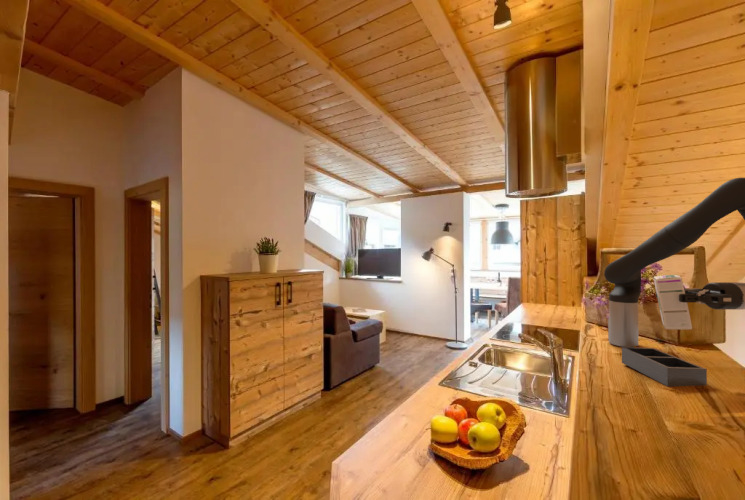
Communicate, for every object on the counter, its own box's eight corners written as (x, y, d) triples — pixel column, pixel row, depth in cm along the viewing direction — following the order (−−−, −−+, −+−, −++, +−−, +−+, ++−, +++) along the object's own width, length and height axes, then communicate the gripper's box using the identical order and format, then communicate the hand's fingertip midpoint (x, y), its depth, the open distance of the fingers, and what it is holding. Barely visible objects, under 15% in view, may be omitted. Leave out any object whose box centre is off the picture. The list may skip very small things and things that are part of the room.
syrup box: (693, 329, 87) (683, 276, 87) (664, 329, 90) (655, 278, 91) (688, 324, 92) (679, 274, 92) (661, 324, 95) (652, 275, 95)
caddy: (621, 362, 105) (621, 347, 105) (653, 363, 104) (653, 348, 104) (667, 386, 87) (667, 367, 87) (706, 387, 86) (706, 369, 86)
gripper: (706, 280, 97) (648, 280, 98) (759, 285, 83) (690, 285, 84) (706, 304, 97) (648, 304, 98) (759, 314, 83) (690, 314, 84)
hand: (668, 296), depth 91 cm, fingers closed on syrup box, 7 cm apart
